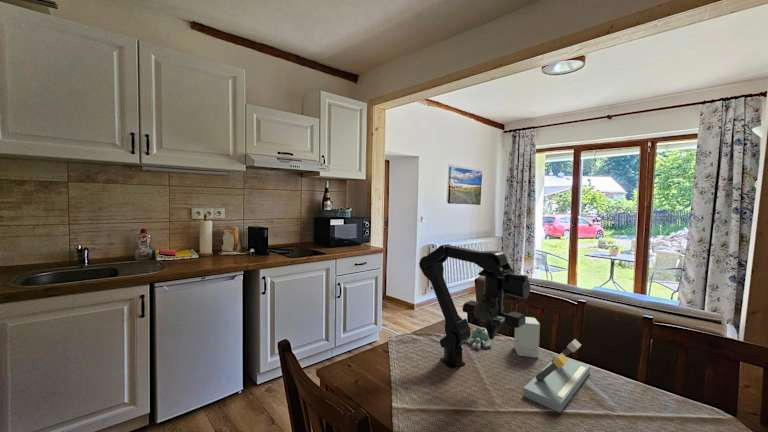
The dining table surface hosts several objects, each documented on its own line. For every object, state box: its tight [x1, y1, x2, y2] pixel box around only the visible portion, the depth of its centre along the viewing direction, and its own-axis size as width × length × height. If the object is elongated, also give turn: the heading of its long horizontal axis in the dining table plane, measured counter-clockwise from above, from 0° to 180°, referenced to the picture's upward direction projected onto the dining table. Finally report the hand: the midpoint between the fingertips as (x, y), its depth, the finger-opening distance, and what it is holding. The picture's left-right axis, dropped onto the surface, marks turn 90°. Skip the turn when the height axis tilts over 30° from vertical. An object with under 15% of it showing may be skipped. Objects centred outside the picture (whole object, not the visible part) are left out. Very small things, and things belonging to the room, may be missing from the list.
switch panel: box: [522, 354, 591, 413], centre depth 101 cm, size 10×30×3 cm, turn 134°
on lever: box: [551, 338, 582, 363], centre depth 106 cm, size 2×4×11 cm
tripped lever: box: [535, 352, 569, 382], centre depth 96 cm, size 2×4×11 cm
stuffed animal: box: [466, 326, 494, 350], centre depth 128 cm, size 11×7×12 cm
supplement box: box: [513, 316, 541, 358], centre depth 122 cm, size 7×7×13 cm
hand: (491, 339), depth 102 cm, fingers closed
